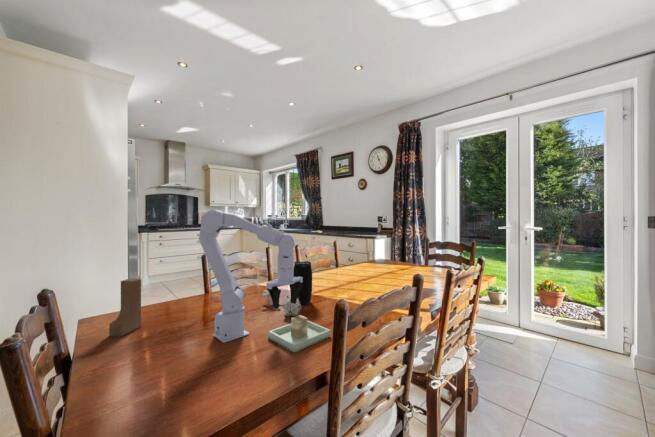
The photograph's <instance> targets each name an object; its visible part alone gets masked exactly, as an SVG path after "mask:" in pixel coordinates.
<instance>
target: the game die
mask: <svg viewBox="0 0 655 437" xmlns="http://www.w3.org/2000/svg"><path fill="white" fill-rule="evenodd" d="M286 297H287V298H286V300H285V302H284V303H283V304H281V305H280V306H281V307H283V311H284V313H285V315H284V317H287V316H293V317H295V316H298V314H299V313H300V310H302V308H304V306H302V303H300V301H299V299H298V298H299V297H298V298H297V301H296V304H293V303H291V296H288V295H287V296H286Z"/></svg>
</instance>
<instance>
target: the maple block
mask: <svg viewBox="0 0 655 437" xmlns="http://www.w3.org/2000/svg"><path fill="white" fill-rule="evenodd" d="M308 321H309V318H308V317H306V316H304V315H301V314H299V315H298V314H297V316H293V317H290V324H291V335H292V336H293V337H295V338H297V339H300V338H302V337H305V336H307V329H308Z"/></svg>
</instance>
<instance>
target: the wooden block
mask: <svg viewBox="0 0 655 437" xmlns="http://www.w3.org/2000/svg"><path fill="white" fill-rule="evenodd" d="M119 310H120V311H119V313H118V316H117V317H116V319H114V320H113V321H111V322H110V323H109V324H108V325H109V327H108V328H109V332H108V333H109V334H108V335H109V337H115V338H117V337H118V338H122V337H124V336H126V335H127V334H129V333H131V332H133V331H135V330H137V329H139V328H141V327H142V279H141V278H134V277H133V278H131V277H130V278H127V279H124V280H120V308H119Z"/></svg>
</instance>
